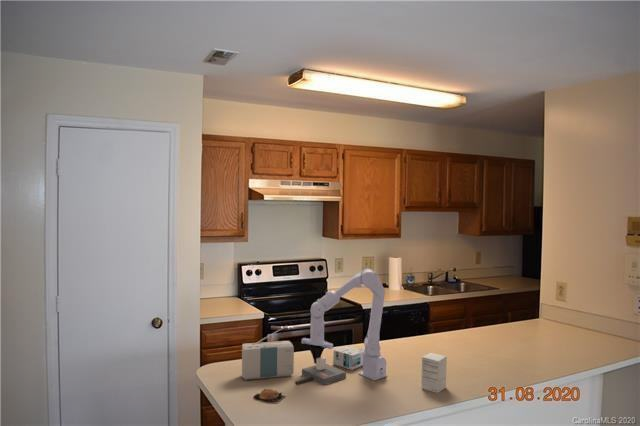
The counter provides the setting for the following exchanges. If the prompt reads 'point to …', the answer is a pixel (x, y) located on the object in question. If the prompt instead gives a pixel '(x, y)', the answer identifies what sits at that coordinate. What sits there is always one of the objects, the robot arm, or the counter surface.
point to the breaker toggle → (321, 363)
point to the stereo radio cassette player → (267, 359)
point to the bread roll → (269, 396)
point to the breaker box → (324, 374)
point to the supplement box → (434, 372)
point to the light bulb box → (348, 357)
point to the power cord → (303, 380)
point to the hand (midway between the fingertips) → (316, 362)
